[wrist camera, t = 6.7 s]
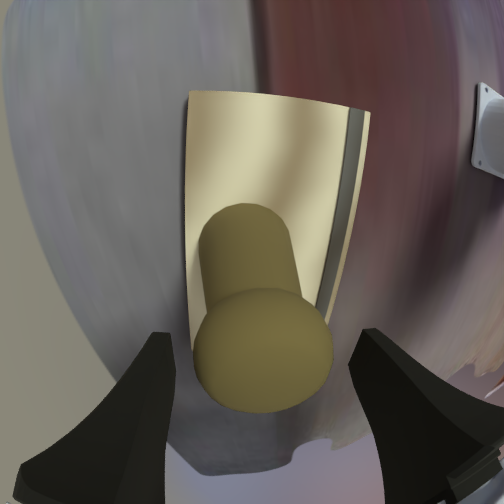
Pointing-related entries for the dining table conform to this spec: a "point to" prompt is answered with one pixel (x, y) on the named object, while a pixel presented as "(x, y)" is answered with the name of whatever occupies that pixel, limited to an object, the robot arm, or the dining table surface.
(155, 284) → the dining table surface
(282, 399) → the cork
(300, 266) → the board
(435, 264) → the dining table surface
